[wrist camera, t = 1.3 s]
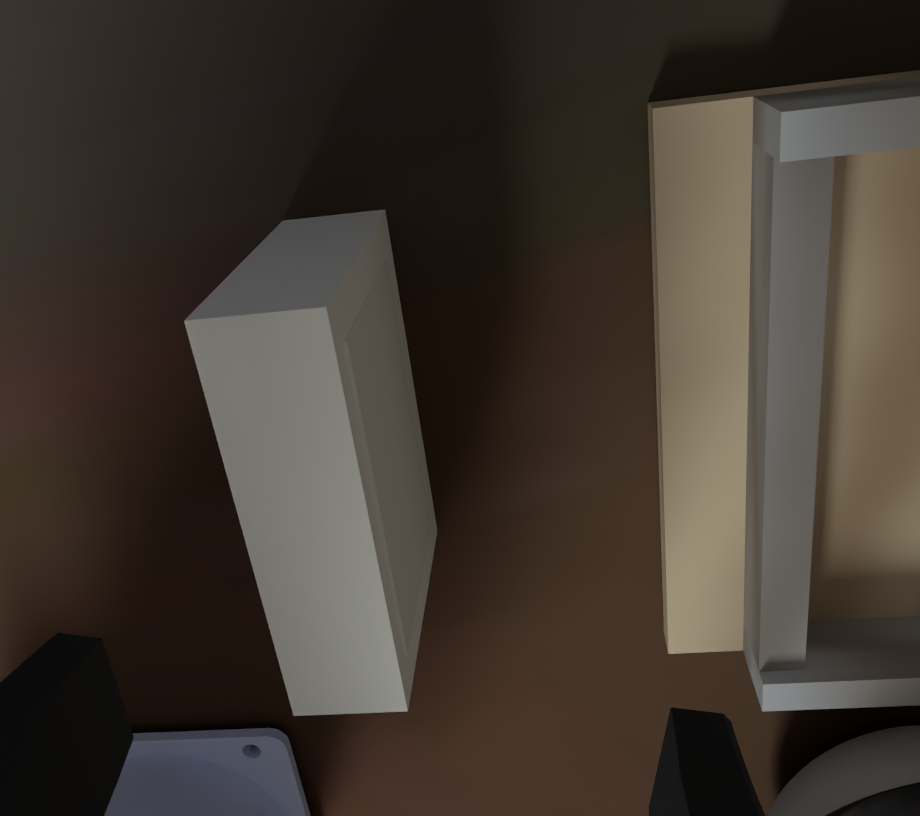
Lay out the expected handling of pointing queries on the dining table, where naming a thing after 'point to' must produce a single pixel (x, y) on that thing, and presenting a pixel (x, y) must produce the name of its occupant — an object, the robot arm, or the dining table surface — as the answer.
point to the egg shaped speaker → (858, 778)
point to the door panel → (324, 456)
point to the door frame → (791, 384)
